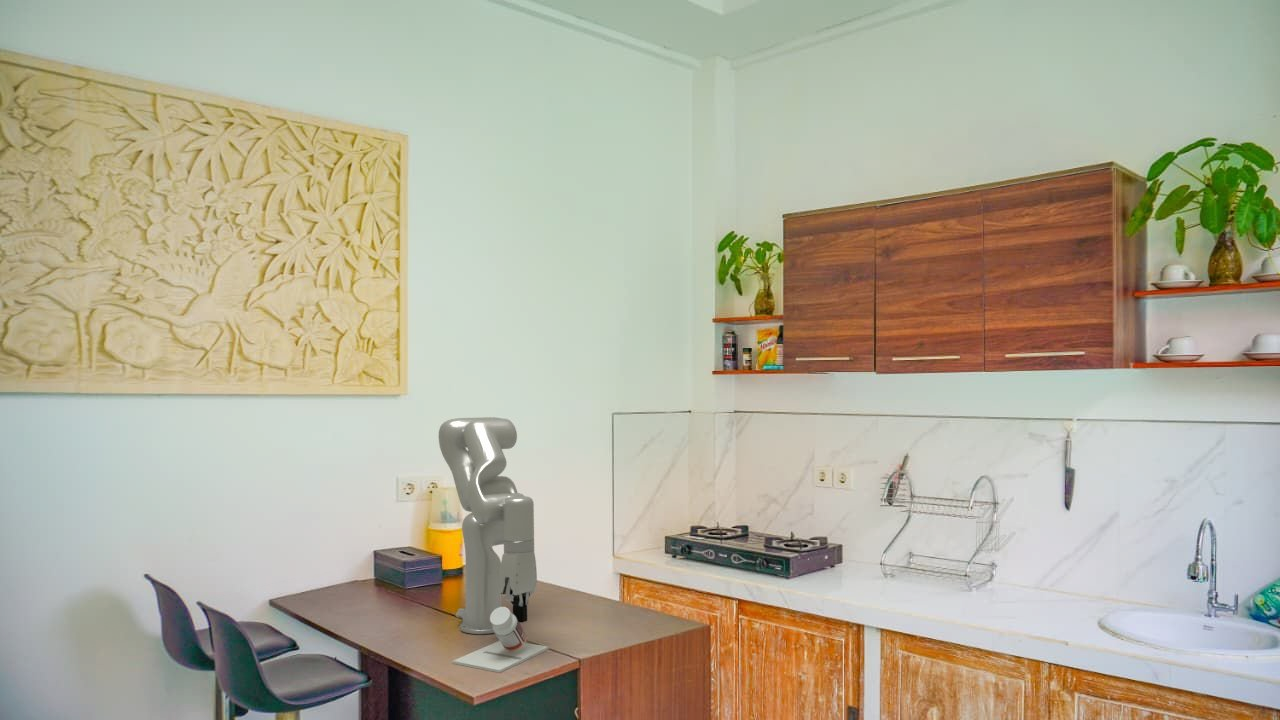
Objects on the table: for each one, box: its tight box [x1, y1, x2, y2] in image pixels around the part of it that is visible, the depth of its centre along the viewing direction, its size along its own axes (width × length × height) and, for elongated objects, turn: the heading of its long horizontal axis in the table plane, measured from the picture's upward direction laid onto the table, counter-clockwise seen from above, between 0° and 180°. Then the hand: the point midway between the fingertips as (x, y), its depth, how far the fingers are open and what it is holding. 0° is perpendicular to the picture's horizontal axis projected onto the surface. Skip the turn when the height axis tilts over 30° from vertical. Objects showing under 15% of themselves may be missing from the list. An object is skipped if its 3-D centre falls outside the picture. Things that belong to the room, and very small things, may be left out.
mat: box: [451, 640, 550, 674], centre depth 222 cm, size 14×20×1 cm
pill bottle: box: [490, 606, 527, 651], centre depth 222 cm, size 6×6×11 cm
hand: (520, 621), depth 225 cm, fingers closed
